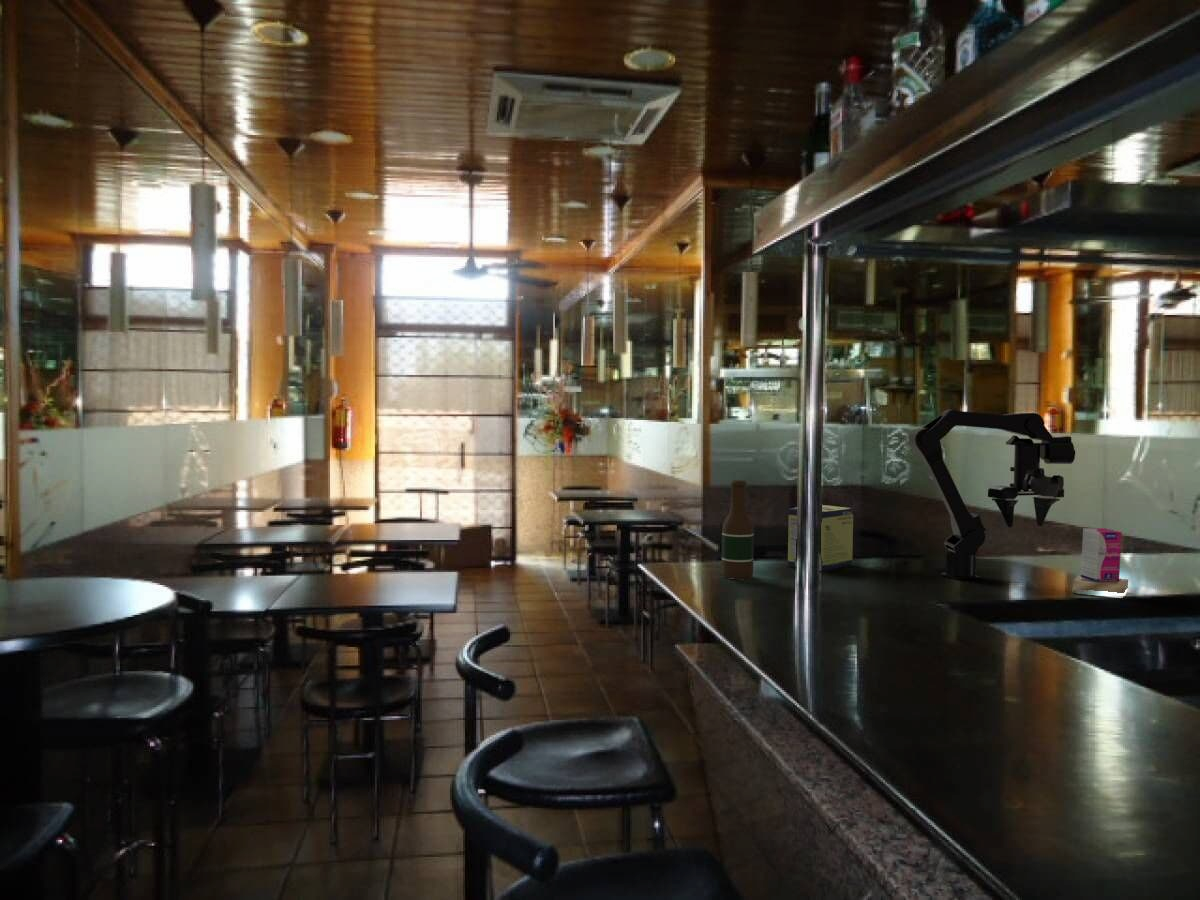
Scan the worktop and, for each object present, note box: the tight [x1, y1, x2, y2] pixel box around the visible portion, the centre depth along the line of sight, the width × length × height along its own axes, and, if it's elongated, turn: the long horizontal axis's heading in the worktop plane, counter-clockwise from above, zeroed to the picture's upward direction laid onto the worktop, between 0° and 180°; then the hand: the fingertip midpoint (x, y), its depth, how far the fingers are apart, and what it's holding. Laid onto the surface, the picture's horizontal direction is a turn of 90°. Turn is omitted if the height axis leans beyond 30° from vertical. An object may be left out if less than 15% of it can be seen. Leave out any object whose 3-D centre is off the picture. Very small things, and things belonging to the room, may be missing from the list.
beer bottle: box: [721, 479, 755, 580], centre depth 221 cm, size 8×8×24 cm
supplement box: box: [1080, 527, 1123, 581], centre depth 206 cm, size 6×6×12 cm
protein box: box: [787, 504, 854, 572], centre depth 239 cm, size 10×16×16 cm
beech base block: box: [1072, 574, 1129, 593], centre depth 206 cm, size 10×10×3 cm
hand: (1025, 526), depth 222 cm, fingers open, 9 cm apart
